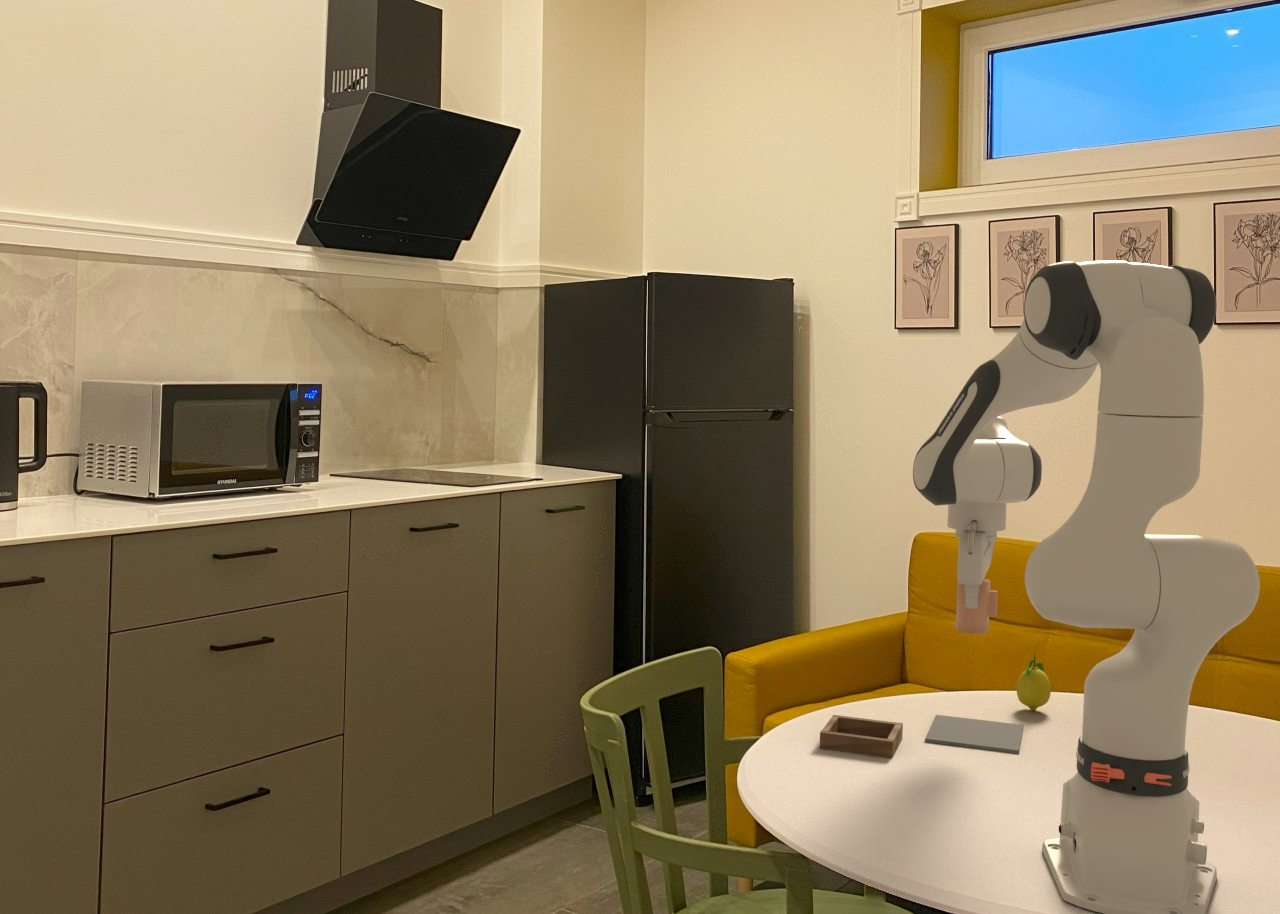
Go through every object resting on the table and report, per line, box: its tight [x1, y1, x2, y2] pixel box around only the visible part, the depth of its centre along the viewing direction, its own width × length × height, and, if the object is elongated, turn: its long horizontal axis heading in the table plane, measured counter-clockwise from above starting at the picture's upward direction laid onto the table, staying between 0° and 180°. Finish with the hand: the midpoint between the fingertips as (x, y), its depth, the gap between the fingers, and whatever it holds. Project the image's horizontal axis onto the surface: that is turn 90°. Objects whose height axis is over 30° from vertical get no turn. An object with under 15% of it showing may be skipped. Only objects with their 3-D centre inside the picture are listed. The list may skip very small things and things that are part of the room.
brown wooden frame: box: [819, 714, 904, 759], centre depth 177 cm, size 10×11×2 cm
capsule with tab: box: [955, 578, 998, 634], centre depth 181 cm, size 5×6×8 cm
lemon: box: [1016, 653, 1052, 712], centre depth 196 cm, size 7×6×10 cm
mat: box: [924, 714, 1025, 754], centre depth 182 cm, size 14×14×1 cm
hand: (973, 604), depth 181 cm, fingers closed on capsule with tab, 5 cm apart
